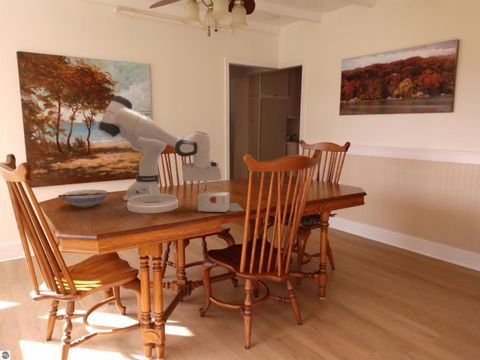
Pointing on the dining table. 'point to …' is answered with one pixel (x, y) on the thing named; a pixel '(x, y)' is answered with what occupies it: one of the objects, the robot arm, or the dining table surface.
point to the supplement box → (213, 201)
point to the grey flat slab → (233, 207)
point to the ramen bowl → (84, 197)
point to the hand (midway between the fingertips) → (202, 188)
